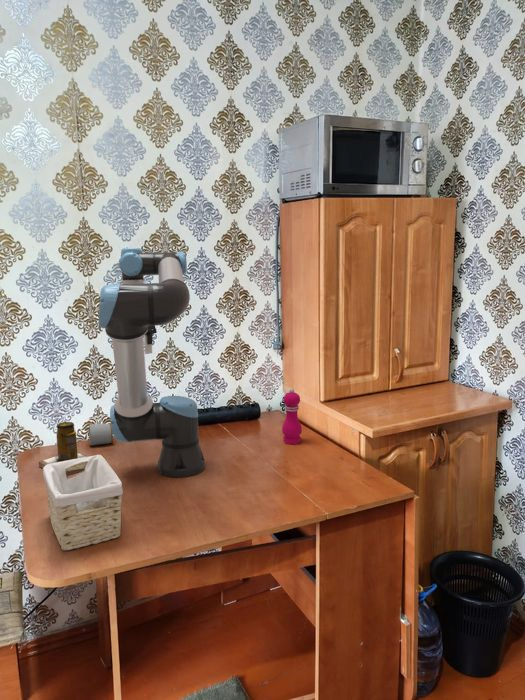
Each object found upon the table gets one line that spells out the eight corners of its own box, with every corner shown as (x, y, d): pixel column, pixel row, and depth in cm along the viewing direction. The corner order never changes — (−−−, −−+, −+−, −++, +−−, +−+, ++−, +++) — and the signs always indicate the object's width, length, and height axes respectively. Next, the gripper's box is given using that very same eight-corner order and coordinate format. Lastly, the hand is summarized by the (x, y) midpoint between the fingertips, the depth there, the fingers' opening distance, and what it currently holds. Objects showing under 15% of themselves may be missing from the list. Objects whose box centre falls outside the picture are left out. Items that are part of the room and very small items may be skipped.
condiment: (77, 453, 191) (74, 419, 189) (81, 462, 183) (78, 426, 181) (54, 457, 188) (51, 422, 185) (57, 466, 180) (54, 430, 178)
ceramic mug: (114, 445, 205) (112, 425, 203) (90, 448, 202) (89, 427, 200) (110, 436, 214) (109, 417, 213) (88, 439, 211) (87, 419, 210)
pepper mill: (283, 437, 210) (282, 385, 206) (302, 438, 209) (302, 385, 205) (281, 444, 203) (280, 390, 199) (301, 445, 202) (301, 391, 198)
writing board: (97, 465, 186) (97, 459, 186) (61, 478, 177) (60, 471, 176) (75, 455, 195) (74, 449, 195) (39, 466, 186) (38, 460, 185)
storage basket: (45, 514, 153) (40, 463, 150) (105, 501, 160) (102, 452, 158) (59, 557, 132) (53, 498, 129) (128, 539, 140) (124, 483, 137)
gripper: (165, 292, 195) (167, 353, 198) (119, 291, 210) (122, 348, 213) (148, 293, 189) (151, 356, 192) (103, 292, 204) (105, 350, 207)
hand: (136, 352), depth 202 cm, fingers open, 13 cm apart
